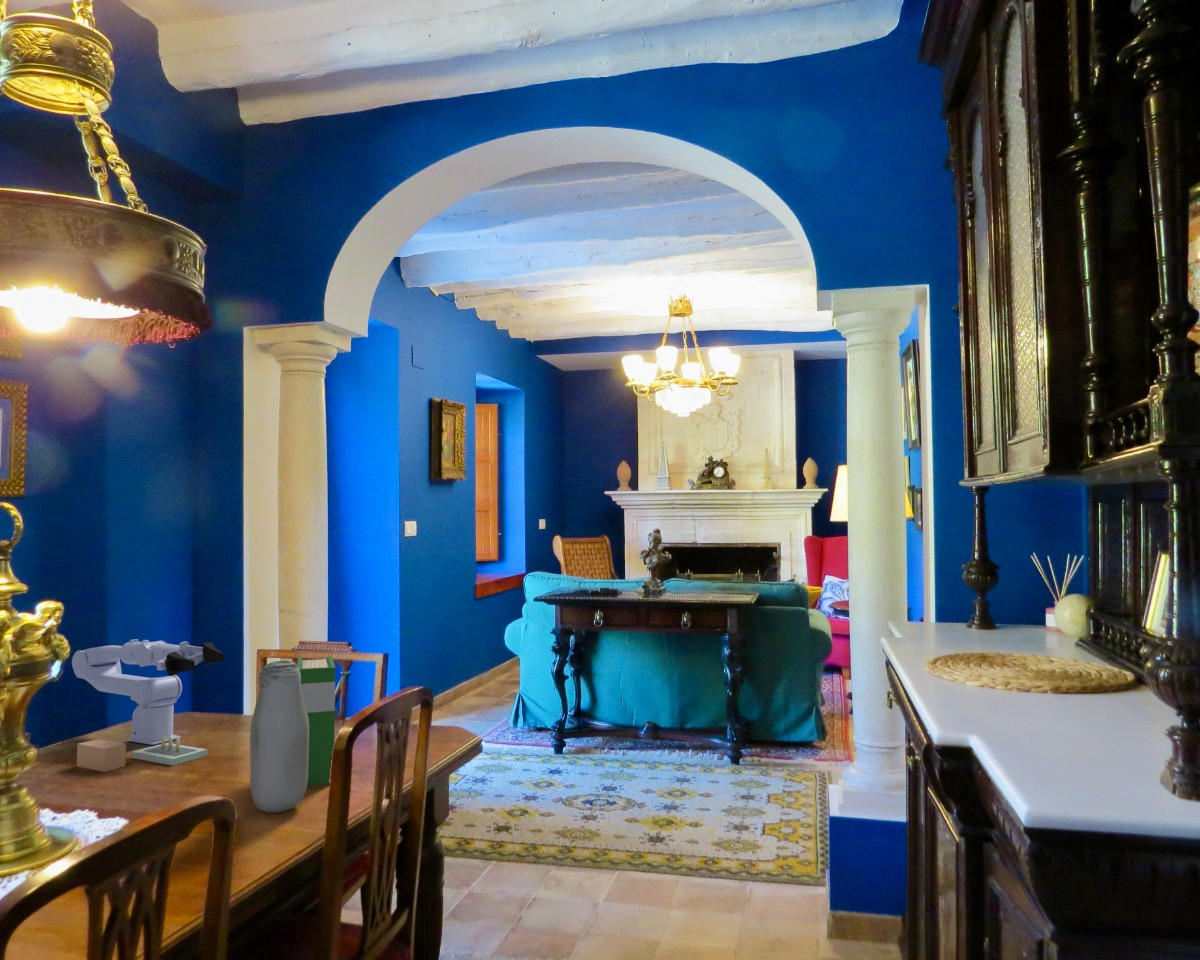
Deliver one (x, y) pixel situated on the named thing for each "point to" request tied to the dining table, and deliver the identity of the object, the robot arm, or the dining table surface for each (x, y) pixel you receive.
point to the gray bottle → (279, 739)
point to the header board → (169, 753)
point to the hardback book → (319, 715)
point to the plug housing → (101, 755)
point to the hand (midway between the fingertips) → (208, 661)
